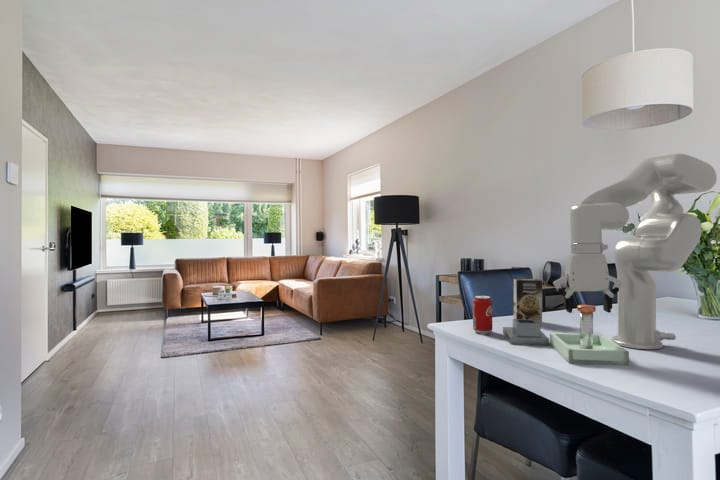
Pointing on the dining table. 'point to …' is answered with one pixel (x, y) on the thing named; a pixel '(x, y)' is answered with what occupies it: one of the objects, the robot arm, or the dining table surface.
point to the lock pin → (586, 326)
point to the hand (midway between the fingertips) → (588, 311)
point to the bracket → (525, 332)
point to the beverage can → (482, 314)
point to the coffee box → (528, 299)
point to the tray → (589, 350)
